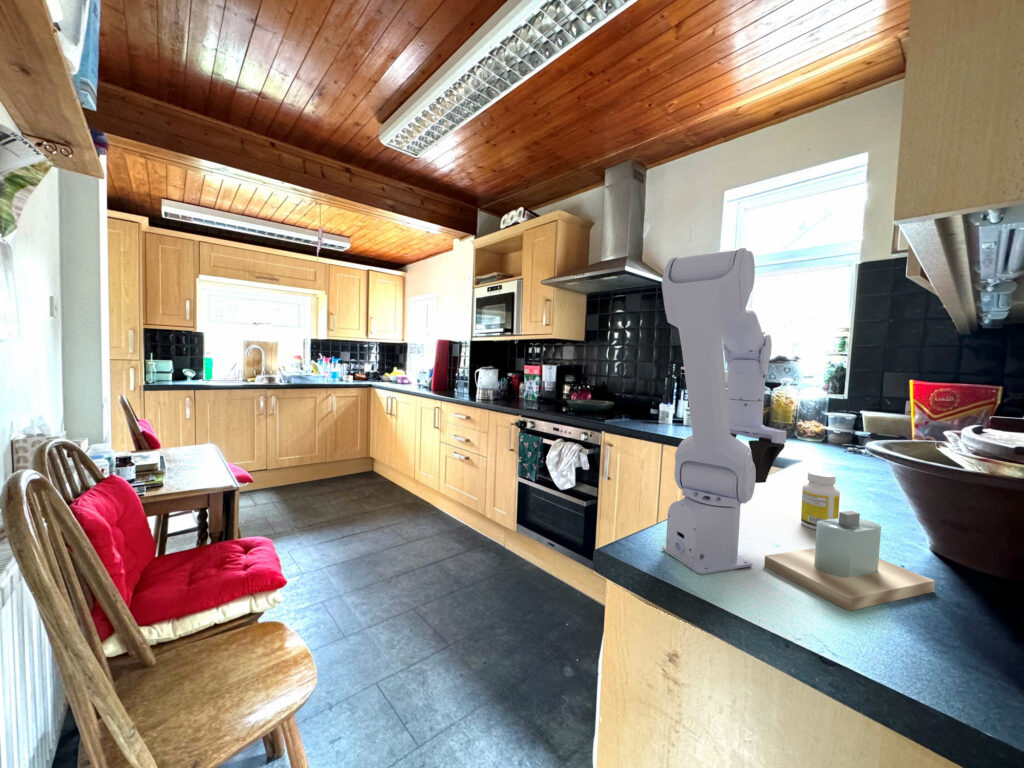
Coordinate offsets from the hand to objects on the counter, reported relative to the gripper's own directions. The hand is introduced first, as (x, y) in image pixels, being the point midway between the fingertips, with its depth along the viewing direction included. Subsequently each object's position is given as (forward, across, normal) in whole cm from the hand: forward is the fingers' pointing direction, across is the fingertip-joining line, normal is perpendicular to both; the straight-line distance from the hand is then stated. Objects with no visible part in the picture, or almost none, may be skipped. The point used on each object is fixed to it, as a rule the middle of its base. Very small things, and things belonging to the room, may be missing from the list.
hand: (740, 476), depth 71 cm
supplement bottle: (+10, -3, -16) cm, 19 cm away
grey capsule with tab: (+8, -18, 0) cm, 19 cm away
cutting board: (+9, -18, 0) cm, 20 cm away
